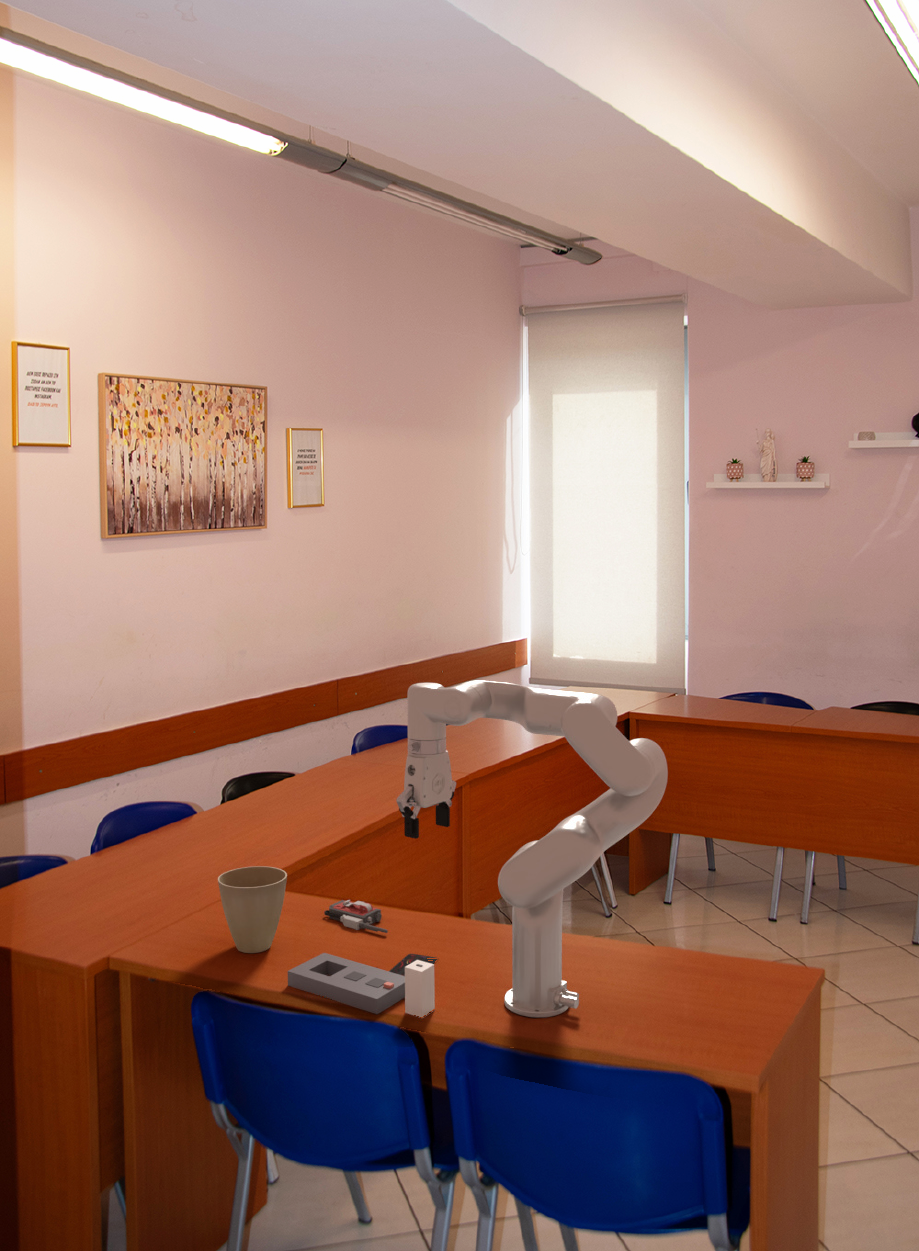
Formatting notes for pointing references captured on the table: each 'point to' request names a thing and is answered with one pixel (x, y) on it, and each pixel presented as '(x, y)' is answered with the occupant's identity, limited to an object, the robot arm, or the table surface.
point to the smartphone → (408, 960)
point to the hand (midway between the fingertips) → (427, 831)
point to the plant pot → (253, 905)
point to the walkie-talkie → (355, 915)
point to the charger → (419, 988)
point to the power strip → (349, 982)
